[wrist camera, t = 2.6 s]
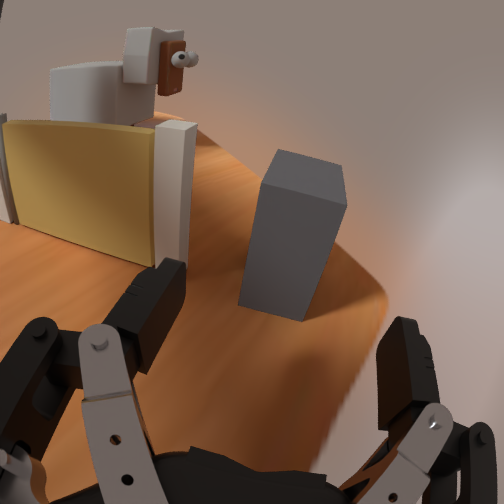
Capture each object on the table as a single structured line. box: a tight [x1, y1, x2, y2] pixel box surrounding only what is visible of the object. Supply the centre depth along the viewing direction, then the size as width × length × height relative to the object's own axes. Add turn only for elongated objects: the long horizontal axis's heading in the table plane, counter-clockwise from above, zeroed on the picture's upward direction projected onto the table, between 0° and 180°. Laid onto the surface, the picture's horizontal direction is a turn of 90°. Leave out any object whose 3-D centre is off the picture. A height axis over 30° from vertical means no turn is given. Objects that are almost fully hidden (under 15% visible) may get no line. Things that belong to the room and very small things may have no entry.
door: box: [2, 120, 155, 267], centre depth 23 cm, size 17×3×11 cm, turn 78°
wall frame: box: [0, 113, 198, 269], centre depth 22 cm, size 26×2×12 cm, turn 78°
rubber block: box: [238, 149, 347, 322], centre depth 23 cm, size 5×7×10 cm
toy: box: [50, 27, 198, 126], centre depth 43 cm, size 11×28×20 cm, turn 72°
